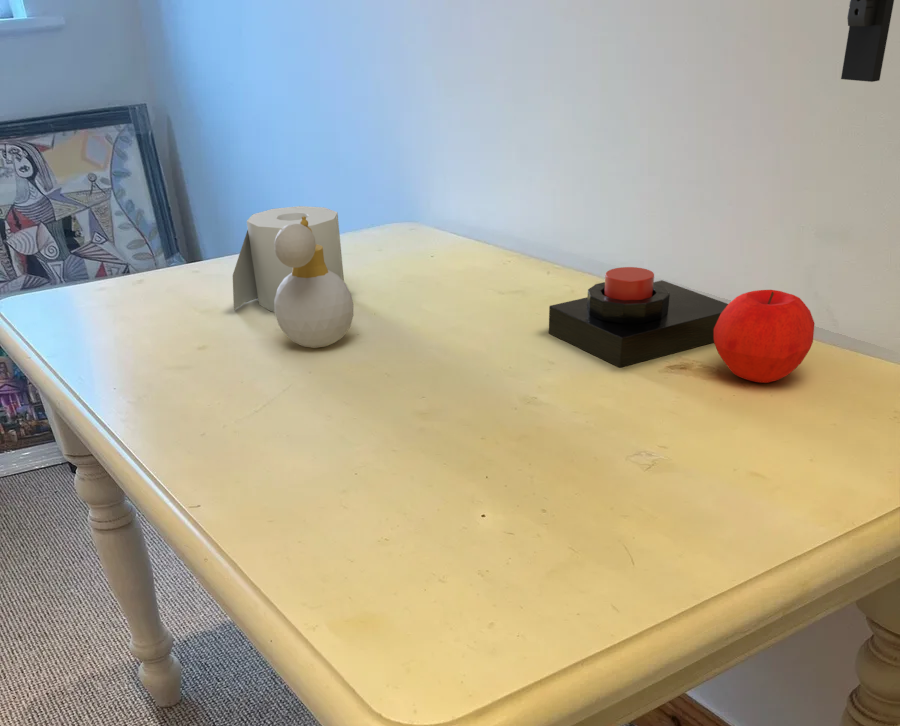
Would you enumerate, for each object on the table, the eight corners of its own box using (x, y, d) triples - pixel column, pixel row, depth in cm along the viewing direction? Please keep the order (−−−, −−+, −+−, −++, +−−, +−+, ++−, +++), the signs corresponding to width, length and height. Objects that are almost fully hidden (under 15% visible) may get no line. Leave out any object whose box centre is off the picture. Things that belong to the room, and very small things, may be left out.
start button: (631, 286, 89) (633, 264, 88) (662, 297, 86) (664, 275, 85) (594, 294, 87) (595, 272, 86) (624, 306, 84) (626, 283, 83)
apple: (701, 390, 78) (713, 302, 74) (714, 357, 84) (725, 274, 80) (801, 401, 76) (819, 310, 72) (807, 366, 82) (824, 280, 78)
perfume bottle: (347, 326, 95) (335, 200, 88) (370, 358, 87) (359, 223, 80) (273, 336, 93) (255, 208, 86) (290, 369, 85) (272, 232, 78)
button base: (659, 306, 96) (664, 261, 94) (736, 336, 89) (743, 288, 86) (548, 333, 91) (549, 286, 88) (619, 367, 83) (623, 317, 80)
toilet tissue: (215, 313, 99) (200, 228, 94) (304, 281, 108) (295, 202, 103) (273, 329, 95) (261, 241, 90) (362, 294, 103) (355, 212, 98)
